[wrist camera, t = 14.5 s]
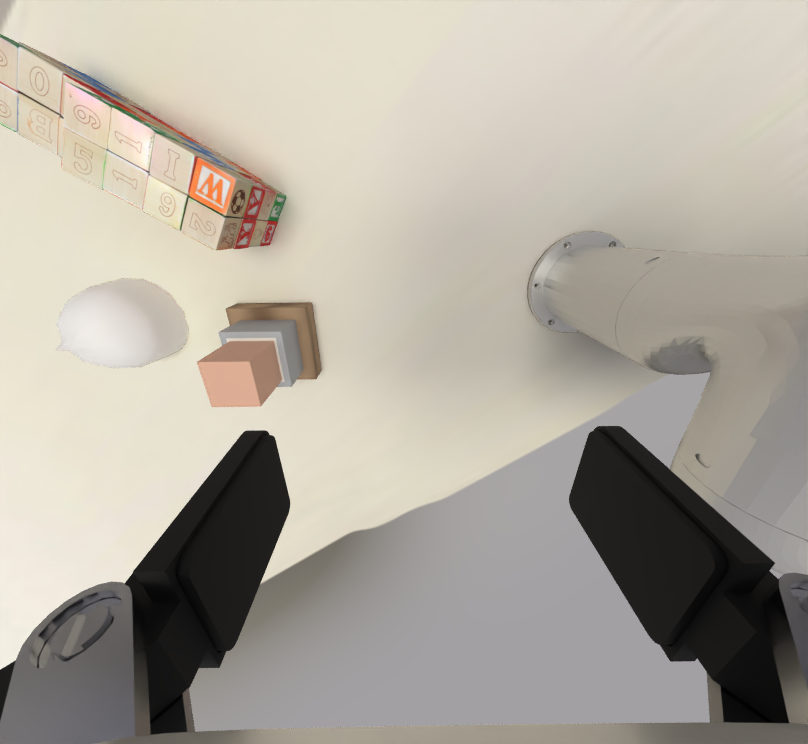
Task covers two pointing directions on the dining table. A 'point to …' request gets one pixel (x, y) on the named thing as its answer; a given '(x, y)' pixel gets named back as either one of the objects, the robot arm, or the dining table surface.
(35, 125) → the stack of blocks
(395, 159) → the dining table surface
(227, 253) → the dining table surface
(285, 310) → the plinth
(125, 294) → the teardrop
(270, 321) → the grey block
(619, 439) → the robot arm
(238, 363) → the terracotta block
